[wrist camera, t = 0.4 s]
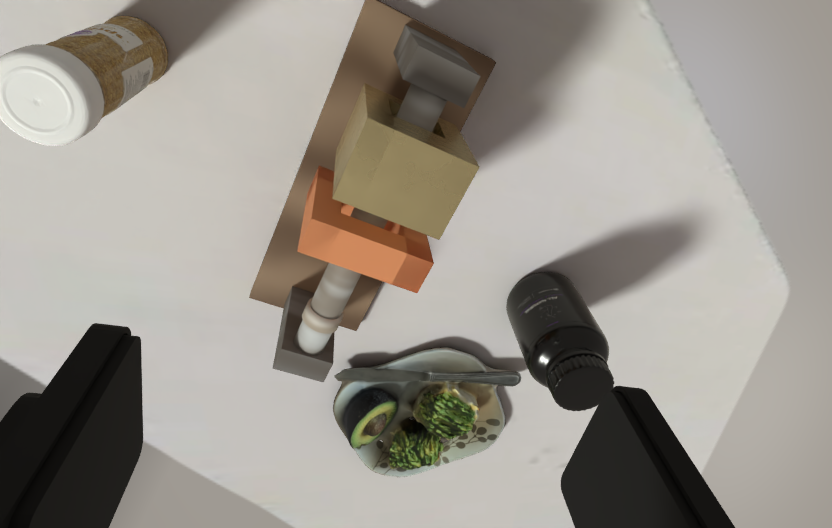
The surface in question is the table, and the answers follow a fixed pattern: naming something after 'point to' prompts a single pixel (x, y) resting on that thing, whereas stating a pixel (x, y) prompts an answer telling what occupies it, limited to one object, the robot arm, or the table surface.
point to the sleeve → (401, 165)
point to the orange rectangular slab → (361, 240)
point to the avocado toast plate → (421, 410)
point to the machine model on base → (422, 106)
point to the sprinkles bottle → (78, 79)
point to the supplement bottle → (560, 340)
